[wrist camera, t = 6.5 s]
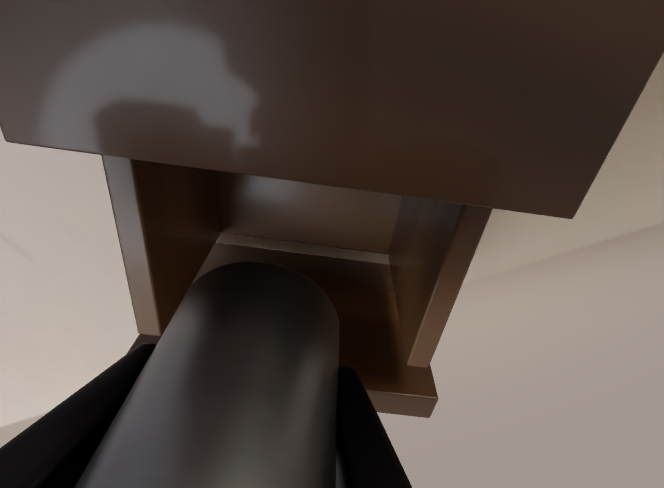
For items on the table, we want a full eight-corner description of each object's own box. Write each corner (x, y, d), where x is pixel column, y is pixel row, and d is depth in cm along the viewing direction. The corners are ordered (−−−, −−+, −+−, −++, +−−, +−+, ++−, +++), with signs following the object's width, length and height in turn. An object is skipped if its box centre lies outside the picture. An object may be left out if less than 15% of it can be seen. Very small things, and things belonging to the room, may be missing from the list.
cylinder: (365, 349, 11) (384, 698, 5) (242, 390, 12) (154, 708, 6) (287, 233, 9) (189, 600, 3) (150, 296, 10) (-94, 643, 4)
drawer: (386, 335, 23) (404, 474, 16) (205, 313, 23) (142, 446, 16) (494, -30, 13) (660, -80, 6) (178, -81, 13) (-26, -197, 6)
